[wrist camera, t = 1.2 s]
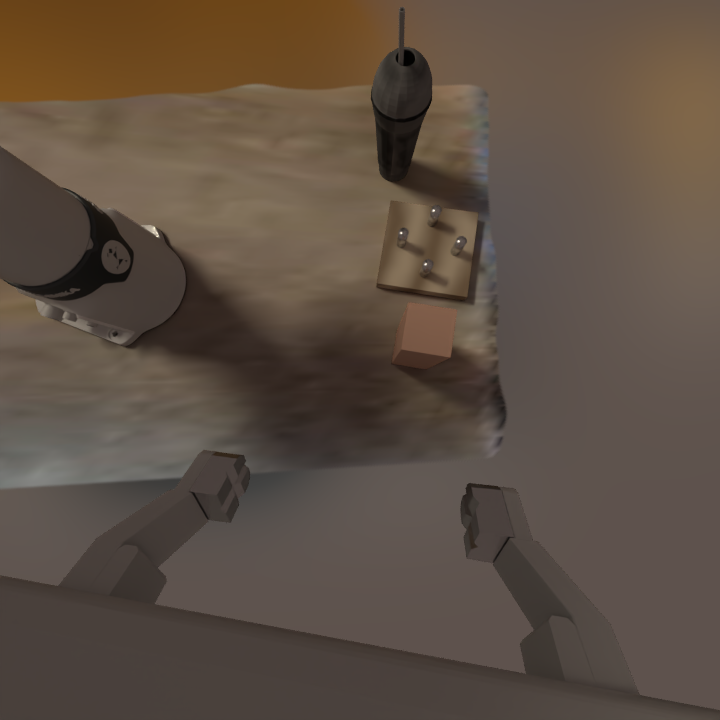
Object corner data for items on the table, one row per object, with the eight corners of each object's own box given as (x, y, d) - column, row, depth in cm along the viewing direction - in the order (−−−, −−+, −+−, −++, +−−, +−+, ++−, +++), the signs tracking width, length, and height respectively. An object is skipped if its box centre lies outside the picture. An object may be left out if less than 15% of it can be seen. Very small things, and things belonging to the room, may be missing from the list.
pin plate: (376, 287, 45) (377, 274, 40) (390, 206, 46) (392, 186, 42) (463, 300, 44) (474, 289, 40) (474, 218, 46) (486, 199, 41)
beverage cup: (426, 169, 47) (469, 2, 27) (391, 198, 46) (409, 50, 27) (395, 138, 48) (414, -46, 28) (360, 167, 47) (355, 0, 27)
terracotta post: (391, 363, 43) (401, 349, 30) (396, 330, 44) (408, 302, 31) (425, 369, 43) (450, 357, 30) (430, 335, 44) (457, 309, 31)
